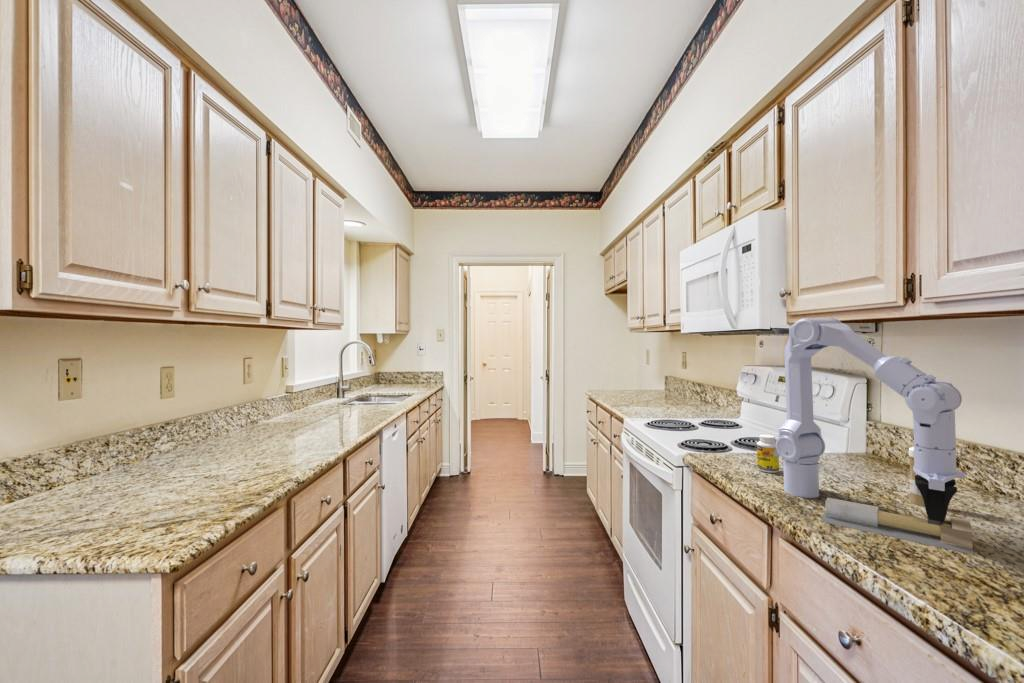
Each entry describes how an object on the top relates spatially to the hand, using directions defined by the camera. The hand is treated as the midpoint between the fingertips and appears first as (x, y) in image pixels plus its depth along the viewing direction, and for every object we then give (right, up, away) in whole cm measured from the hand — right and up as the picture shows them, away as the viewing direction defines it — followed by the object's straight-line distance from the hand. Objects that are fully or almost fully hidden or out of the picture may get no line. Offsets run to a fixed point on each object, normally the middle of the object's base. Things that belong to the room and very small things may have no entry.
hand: (935, 518), depth 82 cm
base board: (-5, -5, +4) cm, 8 cm away
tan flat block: (-3, -4, +2) cm, 5 cm away
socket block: (+2, -4, -2) cm, 4 cm away
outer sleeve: (-9, -4, +9) cm, 13 cm away
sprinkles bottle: (+13, -4, +16) cm, 21 cm away
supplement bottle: (-5, -5, +45) cm, 46 cm away
